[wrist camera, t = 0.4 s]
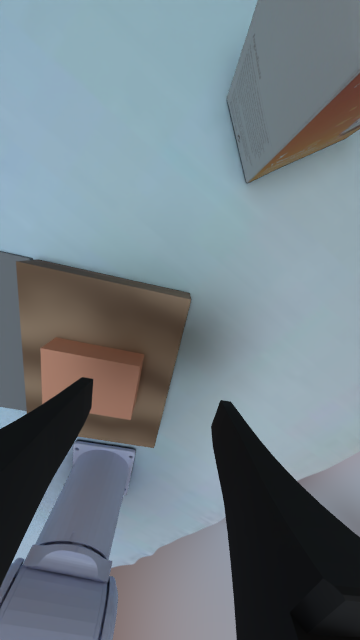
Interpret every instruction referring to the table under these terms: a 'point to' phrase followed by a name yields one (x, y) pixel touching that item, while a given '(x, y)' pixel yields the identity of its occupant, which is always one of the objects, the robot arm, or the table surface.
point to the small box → (296, 82)
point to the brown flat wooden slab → (103, 336)
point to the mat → (11, 336)
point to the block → (93, 374)
